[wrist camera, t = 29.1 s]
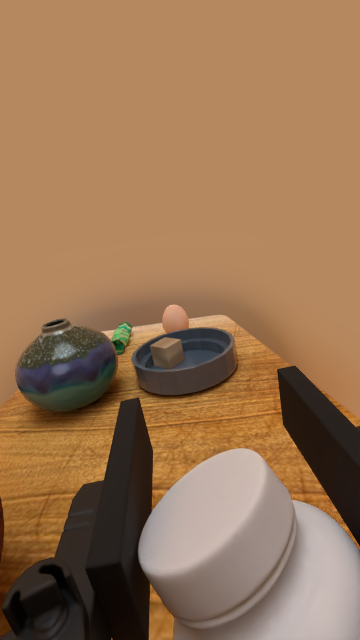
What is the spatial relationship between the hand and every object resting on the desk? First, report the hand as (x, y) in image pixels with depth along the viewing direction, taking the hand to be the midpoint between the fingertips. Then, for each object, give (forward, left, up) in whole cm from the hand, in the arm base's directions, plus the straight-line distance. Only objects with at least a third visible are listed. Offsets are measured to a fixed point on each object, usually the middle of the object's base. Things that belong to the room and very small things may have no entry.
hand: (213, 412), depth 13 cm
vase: (+37, -15, -16) cm, 43 cm away
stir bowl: (+24, -28, -16) cm, 40 cm away
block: (+28, -29, -16) cm, 43 cm away
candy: (+47, -35, -16) cm, 61 cm away
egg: (+35, -41, -16) cm, 57 cm away
